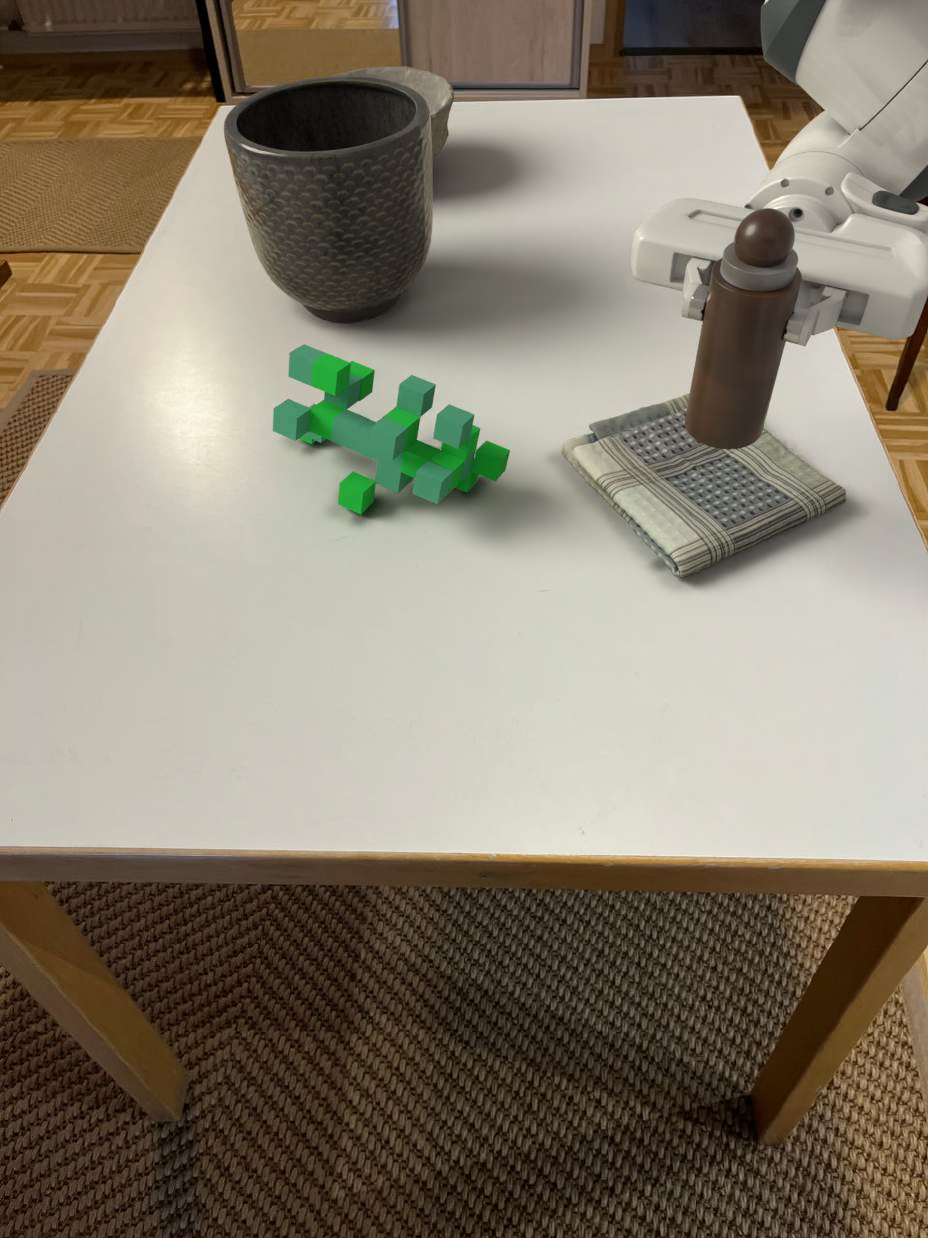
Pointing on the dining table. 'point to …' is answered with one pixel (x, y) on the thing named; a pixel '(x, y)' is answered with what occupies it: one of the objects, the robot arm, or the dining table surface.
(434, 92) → the bowl
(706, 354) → the pepper mill
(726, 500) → the dish towel
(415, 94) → the planter
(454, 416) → the building blocks
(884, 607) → the dining table surface
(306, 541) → the dining table surface
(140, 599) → the dining table surface
